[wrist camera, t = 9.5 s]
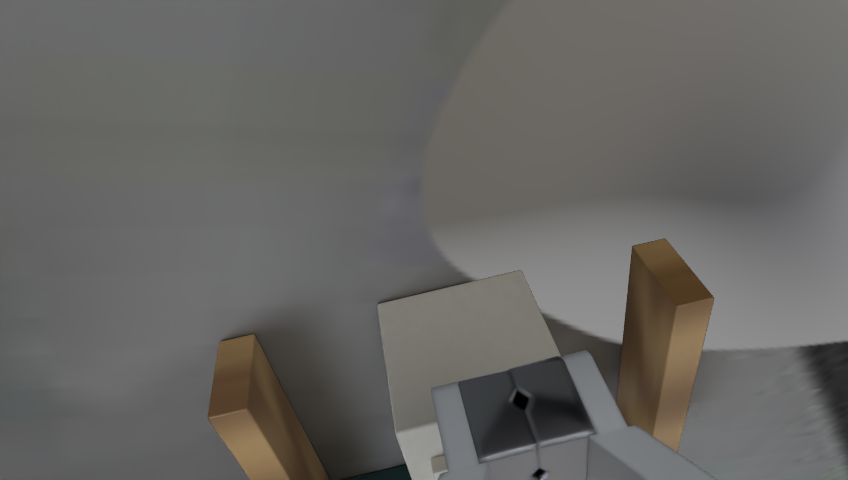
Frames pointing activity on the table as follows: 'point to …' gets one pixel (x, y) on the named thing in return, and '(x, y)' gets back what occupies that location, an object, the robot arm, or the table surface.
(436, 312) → the white rectangular box
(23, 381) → the table surface
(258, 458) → the wooden dock
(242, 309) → the table surface
